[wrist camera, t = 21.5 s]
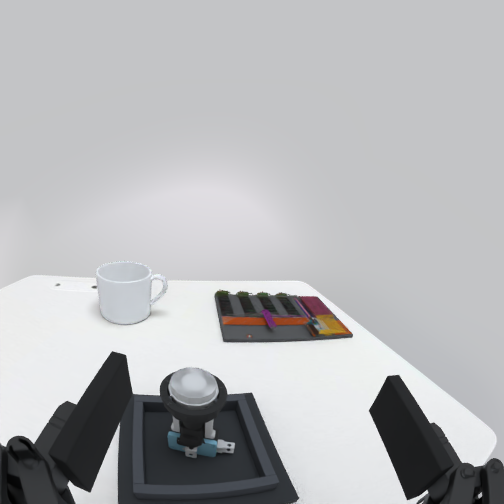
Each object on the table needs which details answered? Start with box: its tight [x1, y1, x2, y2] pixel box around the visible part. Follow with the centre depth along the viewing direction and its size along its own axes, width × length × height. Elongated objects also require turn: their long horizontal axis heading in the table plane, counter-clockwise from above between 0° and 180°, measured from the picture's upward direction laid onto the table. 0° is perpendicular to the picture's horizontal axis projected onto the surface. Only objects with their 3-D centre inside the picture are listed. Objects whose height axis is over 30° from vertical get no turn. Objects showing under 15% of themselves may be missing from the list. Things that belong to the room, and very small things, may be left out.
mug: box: [96, 261, 168, 324], centre depth 45 cm, size 13×10×8 cm
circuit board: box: [215, 290, 353, 342], centre depth 54 cm, size 25×18×3 cm
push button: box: [160, 368, 235, 458], centre depth 20 cm, size 7×5×10 cm
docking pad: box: [118, 393, 299, 504], centre depth 21 cm, size 16×16×3 cm
